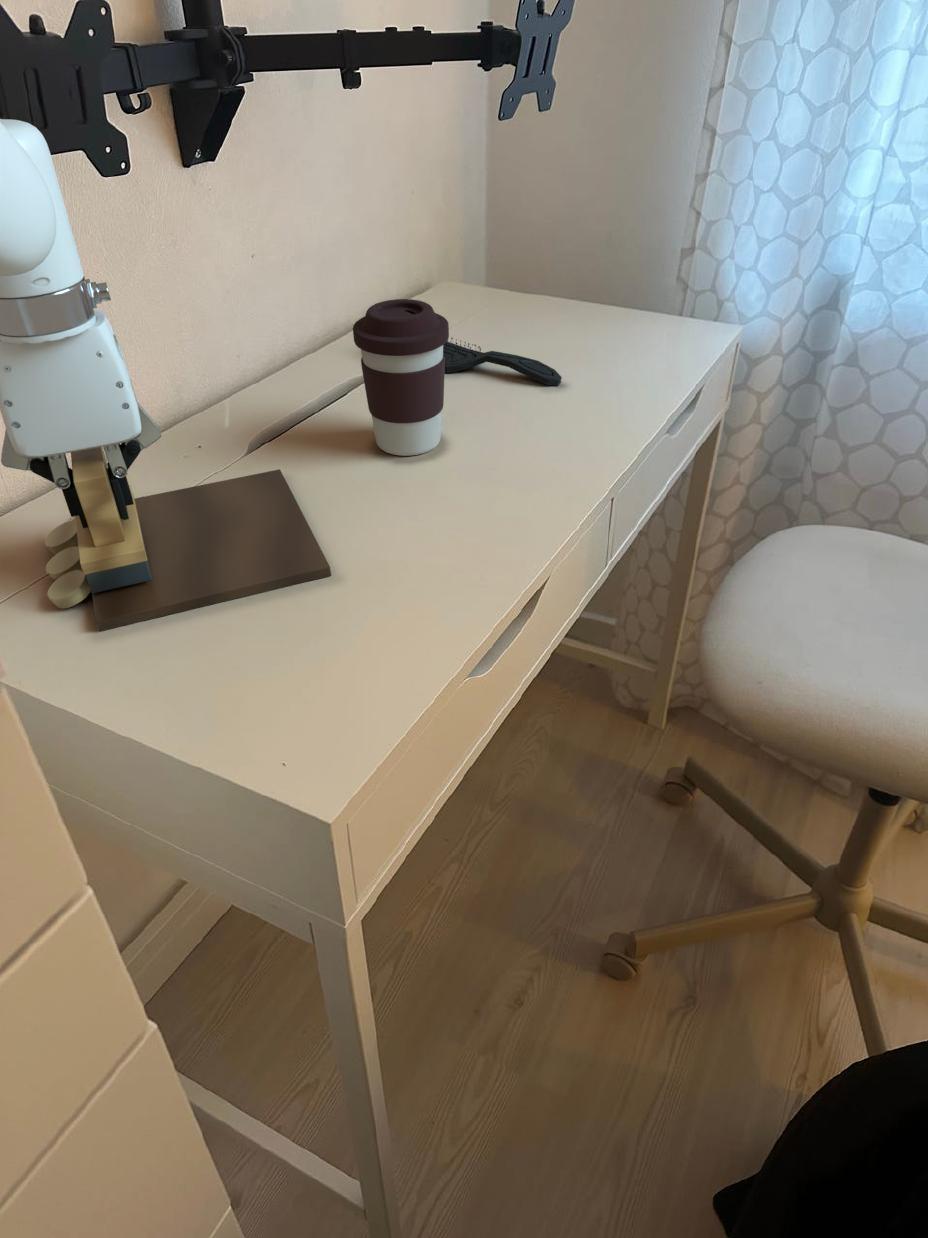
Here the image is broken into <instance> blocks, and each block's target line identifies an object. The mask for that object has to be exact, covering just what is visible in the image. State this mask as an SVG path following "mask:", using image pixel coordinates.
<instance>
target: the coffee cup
mask: <svg viewBox="0 0 928 1238" xmlns="http://www.w3.org/2000/svg"><path fill="white" fill-rule="evenodd" d="M449 326H450V324H449V321H448V319H447V318H446V317H444V316H443V315H441V314H439V313H437V312H435V310H434V307H432V305H431V304H429V303H427V302H426V301H423V300H417V299H412V298H411V299H410V298H396V299H389V300H388V299H387V300H383V301H379V302H377V303H374V304H372V305H371V306H370V307H368V308H367V310H366V312H365V315H364V316H362V317H361V318H359V319H358V320H357V321H355V323H354V324H353V326H352V335H353V336H352V337H353V342H354V345H355V346H356V347H357V348H359V349H360V353H361V358H360V365H361V372H362V378H363V384H364V389H365V395H366V402H367V407H368V408H367V409H368V411H369V413H370V415H371V420H372V425H373V432H374V438H375V442H376V445H377V447H378V448H379V449H380V450H382V451H383V452H385V453H387V454H390V455H395V456H403V457H407V456H408V457H409V456H418V455H421V454H422V455H423V454H425V453H428V452H430V451H432V450H434V449H435V448H436V447H437V446H438V445H439V443H440V441H441V436H442V411H443V409H444V402H445V401H444V400H445V399H444V398H445V356H444V353H443V345H444V344H445V343H446V342H448V341H449V337H450V327H449ZM447 340H448V341H447Z"/></svg>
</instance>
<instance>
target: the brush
mask: <svg viewBox="0 0 928 1238" xmlns="http://www.w3.org/2000/svg"><path fill="white" fill-rule="evenodd" d="M70 460H71V469H72V470H73V480H74V485H75V488H76V491H77V494H78V497H79V500H80V503H81V506H82V509H83V512H84V515H85V518H86V521H87V524H88V528H83V527H82V524H81V521H80V518H79V516H74V518H75V521H76V528H77V538H78V548H79V557H80V565H81V568H82V570H83V573H84V575H86V578H87V581H88V584H89V587H90V589H91V591H90V593H91V594H92V593H97V592H102V591H106V590H110V589H115V588H119V587H124V586H128V585H132V584H137V583H141V582H146V581H150V580H152V578H151V573H150V568H149V564H148V559H147V554H146V549H145V545H144V540H143V535H142V530H141V526H140V521H139V516H138V512H137V508H136V503H135V494H134V491H133V488H132V485H129V488H130V491H131V494H132V498H133V502H134V504H133V505H128V506H127V511H128V516H129V519H127V520H123V519H121V518H120V515H119V512H118V509H117V505H116V502H115V499H114V496H113V492H112V489H111V486H110V482H109V476H108V471H107V468H108V464H107V463H108V460H107V456H106V454H105V451H104V448H103V447H98V448H92V449H87V450H82V451H76V452H71V453H70Z"/></svg>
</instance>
